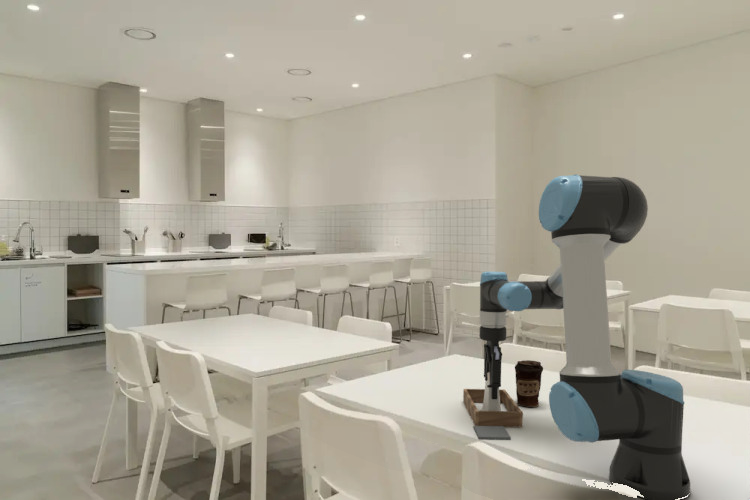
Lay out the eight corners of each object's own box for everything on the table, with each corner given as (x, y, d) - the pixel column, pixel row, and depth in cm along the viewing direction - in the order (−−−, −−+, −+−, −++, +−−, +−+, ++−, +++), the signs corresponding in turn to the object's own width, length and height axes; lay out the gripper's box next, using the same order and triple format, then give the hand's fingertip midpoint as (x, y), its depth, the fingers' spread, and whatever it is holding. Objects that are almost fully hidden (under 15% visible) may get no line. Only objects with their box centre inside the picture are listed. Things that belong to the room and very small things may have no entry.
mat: (510, 439, 141) (510, 437, 141) (478, 439, 141) (478, 436, 141) (503, 428, 149) (503, 426, 149) (473, 427, 149) (473, 425, 149)
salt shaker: (487, 407, 164) (488, 369, 164) (504, 410, 160) (505, 372, 160) (478, 411, 160) (479, 373, 160) (495, 415, 156) (496, 376, 156)
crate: (522, 427, 150) (522, 412, 150) (475, 426, 150) (475, 411, 150) (504, 402, 171) (504, 389, 171) (463, 401, 171) (463, 388, 171)
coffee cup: (543, 410, 164) (544, 366, 164) (514, 408, 166) (515, 364, 166) (540, 401, 173) (542, 359, 172) (513, 399, 175) (514, 358, 174)
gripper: (513, 330, 151) (511, 417, 151) (499, 321, 168) (498, 398, 169) (485, 330, 151) (484, 416, 151) (474, 321, 168) (473, 398, 169)
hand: (491, 407), depth 160 cm, fingers closed on salt shaker, 4 cm apart
